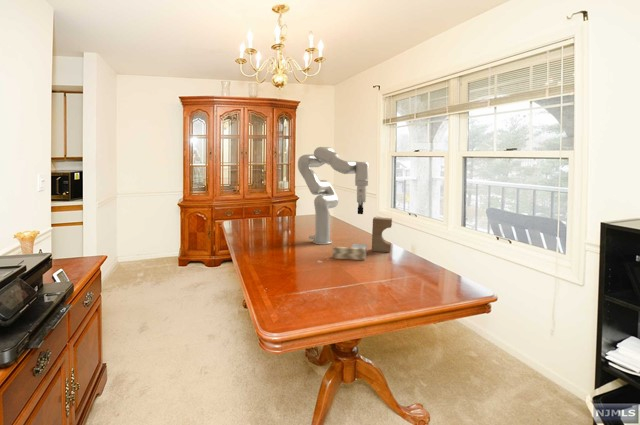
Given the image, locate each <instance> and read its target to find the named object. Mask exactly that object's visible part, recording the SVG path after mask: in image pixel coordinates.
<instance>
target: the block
mask: <svg viewBox="0 0 640 425" xmlns="http://www.w3.org/2000/svg"><path fill="white" fill-rule="evenodd" d="M351 247H354V248H366V250H365V260H366V259H367V248H368V246H367V244H356V243H355V244H354V243H352V245H351Z"/></svg>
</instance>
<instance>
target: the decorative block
mask: <svg viewBox="0 0 640 425" xmlns="http://www.w3.org/2000/svg"><path fill="white" fill-rule="evenodd" d="M392 226H393V218H392V217H376V216H373V218H372V230H371V231H372V232H371V251H372V252H377V253H391V248H392V243H391V242H389V241H387V240H386V239H384V236H383V232H384V231H385V230H386V229H390V228H391V229H392Z"/></svg>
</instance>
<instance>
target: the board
mask: <svg viewBox="0 0 640 425" xmlns="http://www.w3.org/2000/svg"><path fill="white" fill-rule="evenodd" d="M365 250H366V251H367V249H366V248H354V247H352V246H333V247H332V259H340V260H341V259H342V260H355V261H356V260H357V261H358V260H359V261H365V260H366V259H365Z"/></svg>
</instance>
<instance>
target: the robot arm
mask: <svg viewBox="0 0 640 425" xmlns="http://www.w3.org/2000/svg"><path fill="white" fill-rule="evenodd" d="M325 164H327V165H328V166H330V168H332V169H333V170H335V171H336V172H338V173H341V174H344V175H351V174H352V175H353V174H355V175H354V176H355V177H354V186H355V187H356V203H358V206H357V214H358V215H363V214H364V204H365V203H366V200H367V186H369V170H370V169H369V168H370V167H369V162H366V161H358V160H343V159H341V158H340V155H339V153H337V152H335V150H334V149H333V148H332V147H329V146H319V147H316V148H315V149H314V150H313V153H312V154H302V155H301V156H299V158H298V160H297V168H298V171H299V173H300V175H301V177H302V178H303V180H304V182H305V184H306V186H307V188H308V189H309V191H310V194H312V195H313V196H316V197H315V198H314V200H313V204H314V210H315V224H314V225H315V234H314V235H308V239H309V240H312V242H313V244H316V245H320V246H321V245H331V244H333V240H332V239H330V238H331V214H330V211H329V209H334V208H336V207H337V206H338V205H339V198H338V195H337V194H336V191H335V189H334V188H333V185H332V184H331V183H330V182H329V181H328V180H325V179H319V177H318V175H317V173H316V172H315V171H314V170H313V169H312V168H320V167H323V165H325Z"/></svg>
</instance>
